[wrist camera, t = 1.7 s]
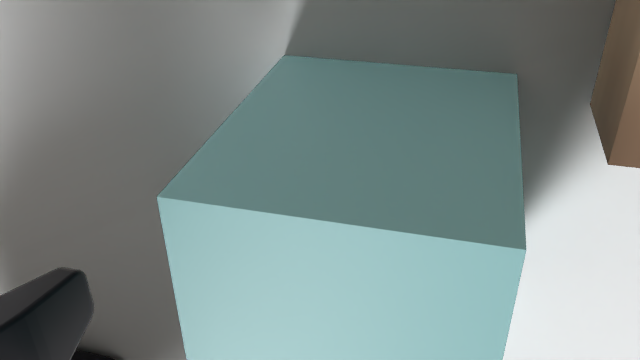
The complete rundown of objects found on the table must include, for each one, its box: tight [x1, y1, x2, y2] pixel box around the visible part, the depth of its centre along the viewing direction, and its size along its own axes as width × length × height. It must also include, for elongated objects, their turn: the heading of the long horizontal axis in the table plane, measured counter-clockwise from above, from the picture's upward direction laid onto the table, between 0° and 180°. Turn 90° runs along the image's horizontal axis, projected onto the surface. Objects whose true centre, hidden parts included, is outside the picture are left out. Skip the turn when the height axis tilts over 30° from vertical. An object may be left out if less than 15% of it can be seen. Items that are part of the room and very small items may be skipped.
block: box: [157, 55, 526, 360], centre depth 12 cm, size 5×5×6 cm
